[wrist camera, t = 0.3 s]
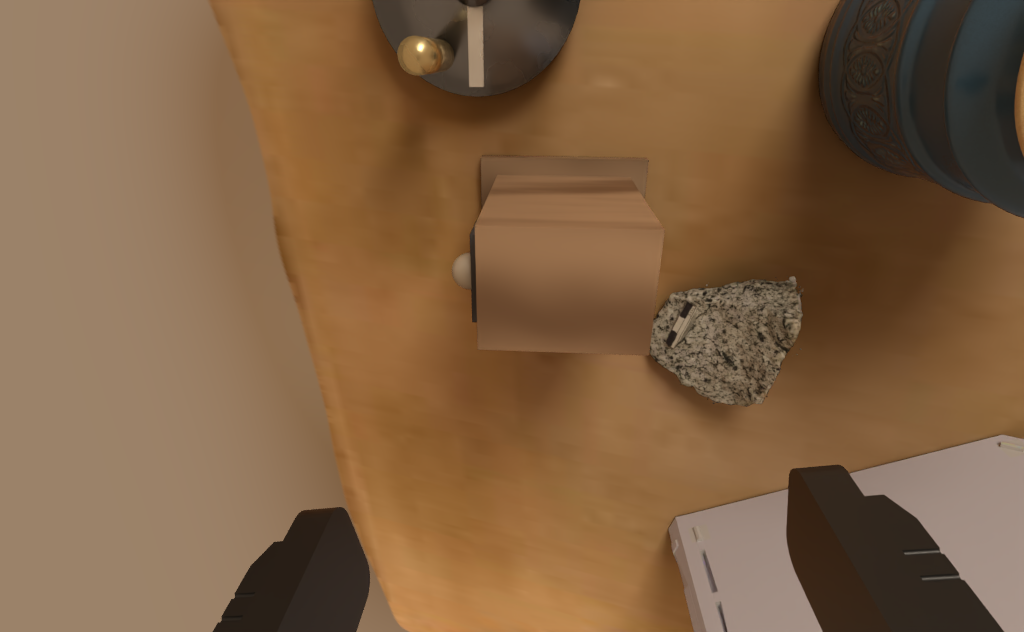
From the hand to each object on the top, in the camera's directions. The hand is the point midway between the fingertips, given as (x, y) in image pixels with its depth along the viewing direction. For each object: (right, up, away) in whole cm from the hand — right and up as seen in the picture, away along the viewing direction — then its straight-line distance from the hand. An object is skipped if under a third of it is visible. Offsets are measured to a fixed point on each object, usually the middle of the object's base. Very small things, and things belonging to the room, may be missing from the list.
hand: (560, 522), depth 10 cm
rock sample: (+13, +3, +29) cm, 31 cm away
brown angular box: (+2, +10, +25) cm, 27 cm away
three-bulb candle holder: (-3, +22, +20) cm, 30 cm away
